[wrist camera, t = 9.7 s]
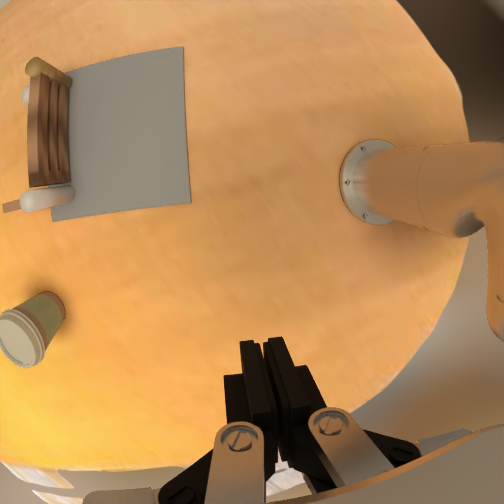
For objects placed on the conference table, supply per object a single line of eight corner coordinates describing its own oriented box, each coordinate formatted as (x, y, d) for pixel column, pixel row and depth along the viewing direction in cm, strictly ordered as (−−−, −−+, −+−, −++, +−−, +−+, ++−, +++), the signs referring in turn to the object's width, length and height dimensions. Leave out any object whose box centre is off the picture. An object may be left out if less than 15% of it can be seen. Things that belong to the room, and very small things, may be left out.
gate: (72, 181, 33) (37, 184, 24) (58, 184, 33) (22, 188, 24) (71, 73, 29) (41, 54, 20) (57, 78, 29) (26, 60, 20)
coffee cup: (25, 286, 37) (-16, 316, 25) (62, 280, 37) (22, 313, 26) (42, 332, 39) (8, 370, 27) (79, 330, 40) (48, 372, 28)
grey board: (183, 47, 32) (174, 8, 21) (191, 202, 37) (182, 213, 27) (32, 86, 29) (-8, 69, 18) (36, 224, 35) (-7, 240, 24)
